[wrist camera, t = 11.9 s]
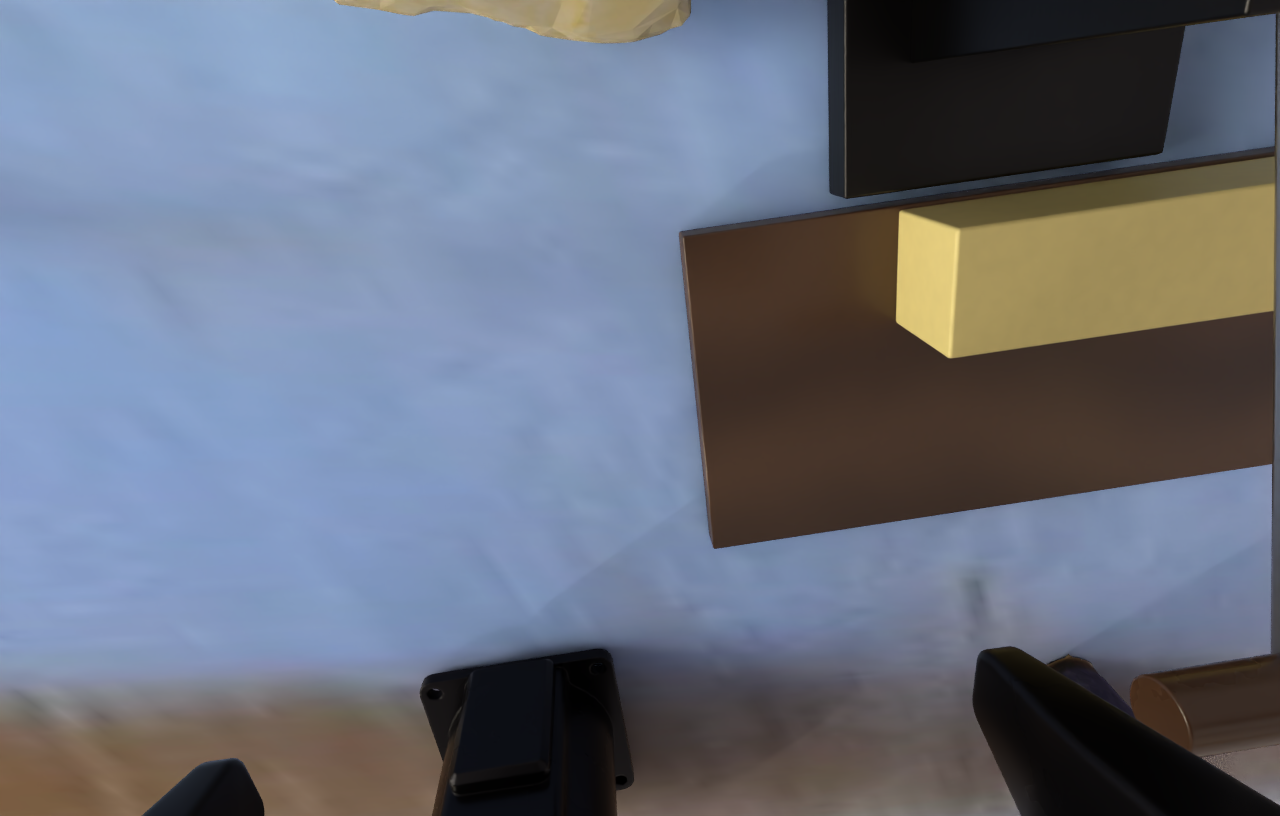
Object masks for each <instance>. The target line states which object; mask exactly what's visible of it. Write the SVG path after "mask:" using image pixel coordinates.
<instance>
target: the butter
mask: <svg viewBox="0 0 1280 816" xmlns="http://www.w3.org/2000/svg"><path fill="white" fill-rule="evenodd" d="M1274 195H1275V156H1274V157H1267V158H1260V159H1253V160H1246V161H1239V162H1232V163H1225V164H1218V165H1211V166H1204V167H1197V168H1190V169H1183V170H1176V171H1169V172H1162V173H1155V174H1148V175H1142V176H1135V177H1128V178H1121V179H1114V180H1107V181H1100V182H1093V183H1086V184H1079V185H1072V186H1065V187H1058V188H1051V189H1044V190H1037V191H1030V192H1023V193H1016V194H1009V195H1002V196H995V197H988V198H981V199H974V200H967V201H960V202H953V203H946V204H939V205H932V206H925V207H918V208H912V209H905V210H902V211H900V212H899V233H898V267H897V301H896V322H897V323H898V324H899V325H901V326H902V327H904V328H905V329H907V330H908V331H910V332H911V333H913V334H914V335H915V336H917V337H918V338H920V339H921V340H923V341H924V342H926V343H927V344H929V345H930V346H932V347H933V348H935V349H936V350H937V351H939V352H940V353H942V354H943V355H945V356H946V357H948V358H958V357H965V356H971V355H978V354H985V353H992V352H998V351H1005V350H1012V349H1019V348H1025V347H1032V346H1039V345H1046V344H1053V343H1059V342H1066V341H1073V340H1080V339H1086V338H1093V337H1100V336H1107V335H1113V334H1120V333H1127V332H1134V331H1140V330H1147V329H1154V328H1161V327H1167V326H1174V325H1181V324H1188V323H1194V322H1201V321H1208V320H1215V319H1221V318H1228V317H1235V316H1242V315H1249V314H1255V313H1262V312H1269V311H1274Z"/></svg>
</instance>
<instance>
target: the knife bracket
mask: <svg viewBox="0 0 1280 816" xmlns="http://www.w3.org/2000/svg"><path fill="white" fill-rule="evenodd" d="M827 7H828V95H829V183H830V193H831V194H834V195H837V196H840V197H843V198H846V199H849V198H856V197H863V196H870V195H877V194H884V193H891V192H898V191H905V190H912V189H919V188H926V187H933V186H940V185H947V184H954V183H961V182H968V181H975V180H982V179H989V178H996V177H1003V176H1010V175H1017V174H1024V173H1031V172H1038V171H1045V170H1052V169H1059V168H1066V167H1073V166H1080V165H1087V164H1094V163H1101V162H1108V161H1115V160H1122V159H1129V158H1136V157H1143V156H1150V155H1157V154H1160V153H1162V152H1163V148H1164V143H1165V137H1166V131H1167V126H1168V120H1169V115H1170V109H1171V103H1172V98H1173V92H1174V87H1175V81H1176V75H1177V70H1178V64H1179V59H1180V53H1181V47H1182V42H1183V36H1184V31H1185V26H1188V25H1195V24H1202V23H1210V22H1217V21H1224V20H1231V19H1239V18H1246V17H1253V16H1260V15H1268V14H1275V13H1280V0H827Z"/></svg>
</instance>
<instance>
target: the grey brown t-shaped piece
mask: <svg viewBox="0 0 1280 816" xmlns="http://www.w3.org/2000/svg"><path fill="white" fill-rule="evenodd" d="M1130 702H1131V707H1132V710H1133V713H1134V716H1135V718H1136V719H1137V720H1139V721H1140V722H1142V723H1144V724H1145V725H1147V726H1149V727H1150V728H1152V729H1154V730H1155V731H1157V732H1158V733H1160V734H1162V735H1163V736H1165V737H1167V738H1168V739H1170V740H1172V741H1173V742H1175V743H1177V744H1178V745H1180V746H1182V747H1183V748H1185V749H1187V750H1188V751H1190V752H1192V753H1193V754H1195V755H1197V756H1198V757H1206V756H1212V755H1218V754H1224V753H1231V752H1237V751H1243V750H1249V749H1256V748H1262V747H1268V746H1274V745H1280V13H1276V69H1275V195H1274V321H1273V447H1272V573H1271V654H1267V655H1260V656H1254V657H1248V658H1241V659H1235V660H1229V661H1222V662H1216V663H1210V664H1203V665H1197V666H1191V667H1184V668H1178V669H1172V670H1165V671H1159V672H1153V673H1146V674H1141V675H1139V676H1137V677H1136V678H1135V679H1134V680H1133V681H1132V683H1131V686H1130Z"/></svg>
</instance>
